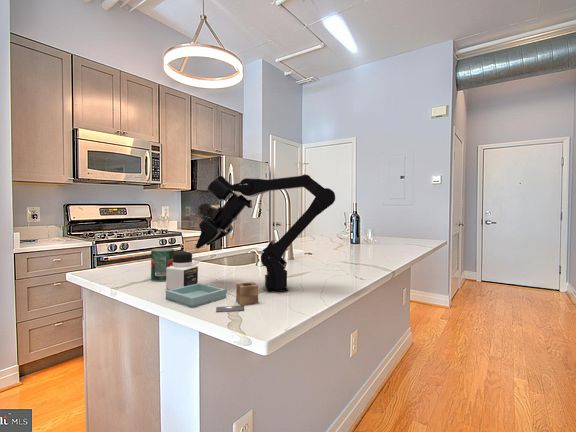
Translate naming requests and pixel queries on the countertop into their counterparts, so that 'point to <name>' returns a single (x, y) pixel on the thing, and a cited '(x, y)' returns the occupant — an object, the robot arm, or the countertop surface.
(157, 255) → the canned tomato
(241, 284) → the brown open box
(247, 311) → the countertop surface
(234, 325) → the countertop surface
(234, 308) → the pin gauge
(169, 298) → the tray
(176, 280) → the medicine bottle
